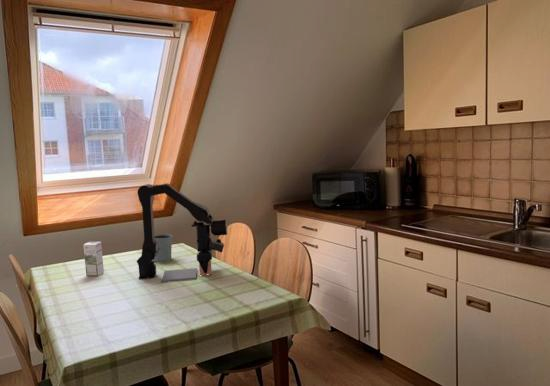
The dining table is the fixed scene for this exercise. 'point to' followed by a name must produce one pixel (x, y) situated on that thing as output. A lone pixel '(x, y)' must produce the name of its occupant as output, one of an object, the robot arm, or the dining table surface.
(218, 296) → the dining table surface
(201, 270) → the terracotta block
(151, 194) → the robot arm
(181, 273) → the slate plate
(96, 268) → the syrup box
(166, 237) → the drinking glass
